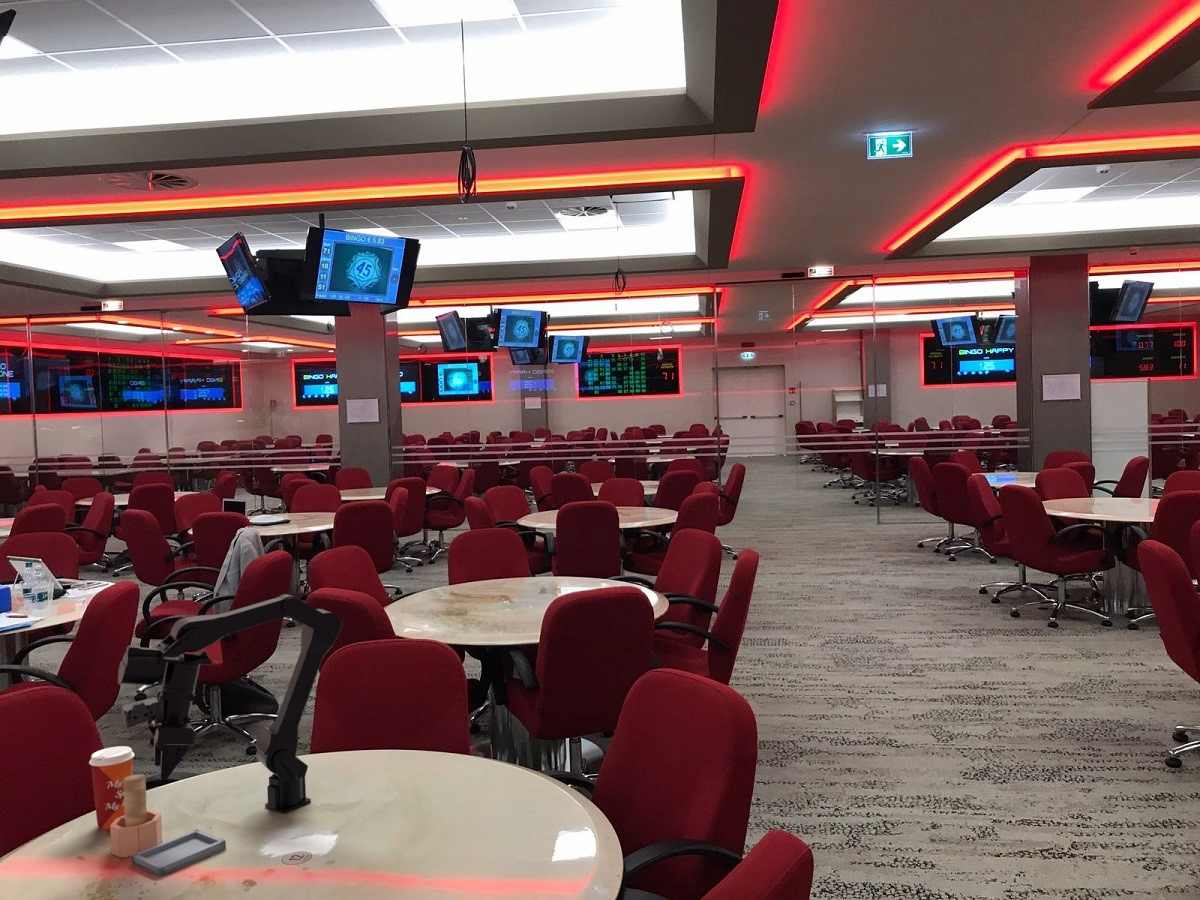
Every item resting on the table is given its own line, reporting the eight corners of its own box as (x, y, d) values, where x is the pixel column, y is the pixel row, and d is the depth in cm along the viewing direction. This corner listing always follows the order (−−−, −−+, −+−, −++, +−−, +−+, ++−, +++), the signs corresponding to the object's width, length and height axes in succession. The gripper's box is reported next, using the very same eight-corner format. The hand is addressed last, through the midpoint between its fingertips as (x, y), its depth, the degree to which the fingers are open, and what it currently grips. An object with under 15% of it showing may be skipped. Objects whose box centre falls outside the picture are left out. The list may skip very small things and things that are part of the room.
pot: (146, 834, 164) (145, 807, 164) (168, 843, 159) (167, 816, 159) (104, 850, 157) (103, 822, 157) (126, 860, 153) (125, 832, 153)
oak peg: (141, 841, 161) (139, 773, 161) (151, 845, 159) (149, 776, 159) (122, 848, 158) (119, 779, 158) (132, 853, 156) (129, 783, 156)
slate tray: (197, 837, 162) (197, 829, 162) (225, 848, 157) (225, 840, 157) (132, 864, 152) (131, 855, 152) (159, 877, 147) (159, 868, 147)
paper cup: (117, 834, 164) (114, 759, 164) (81, 832, 166) (79, 758, 166) (146, 816, 172) (143, 745, 172) (112, 814, 173) (110, 744, 173)
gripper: (126, 674, 167) (108, 758, 165) (135, 694, 152) (115, 787, 150) (189, 678, 173) (172, 759, 171) (204, 697, 158) (185, 787, 155)
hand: (160, 772), depth 162 cm, fingers open, 9 cm apart
